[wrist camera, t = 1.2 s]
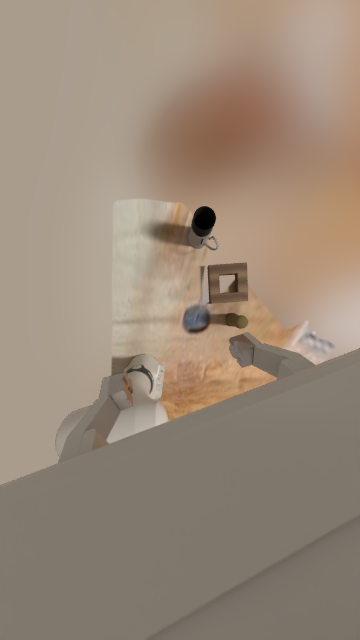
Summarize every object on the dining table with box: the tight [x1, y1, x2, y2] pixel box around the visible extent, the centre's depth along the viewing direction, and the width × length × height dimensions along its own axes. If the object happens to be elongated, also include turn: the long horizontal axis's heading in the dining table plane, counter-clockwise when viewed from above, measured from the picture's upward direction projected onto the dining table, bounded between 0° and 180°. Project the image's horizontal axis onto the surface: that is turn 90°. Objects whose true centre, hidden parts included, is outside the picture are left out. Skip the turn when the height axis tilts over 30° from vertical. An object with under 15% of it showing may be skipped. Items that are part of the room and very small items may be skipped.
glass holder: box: [188, 206, 219, 250], centre depth 58 cm, size 9×14×15 cm, turn 34°
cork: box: [226, 313, 248, 329], centre depth 64 cm, size 6×6×11 cm
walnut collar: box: [208, 263, 248, 304], centre depth 66 cm, size 16×16×3 cm
